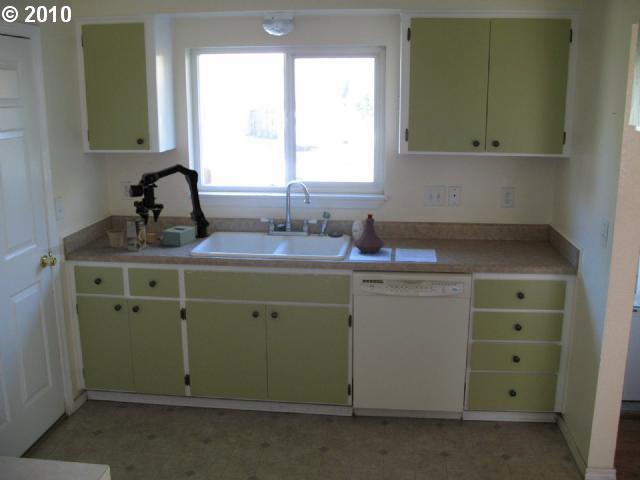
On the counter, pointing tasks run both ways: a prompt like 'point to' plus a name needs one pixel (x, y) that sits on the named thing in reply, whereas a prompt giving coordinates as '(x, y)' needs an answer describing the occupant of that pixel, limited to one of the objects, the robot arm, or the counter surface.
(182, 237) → the box
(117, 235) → the flower pot
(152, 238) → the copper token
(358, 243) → the flask
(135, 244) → the coffee box
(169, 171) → the robot arm
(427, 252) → the counter surface
